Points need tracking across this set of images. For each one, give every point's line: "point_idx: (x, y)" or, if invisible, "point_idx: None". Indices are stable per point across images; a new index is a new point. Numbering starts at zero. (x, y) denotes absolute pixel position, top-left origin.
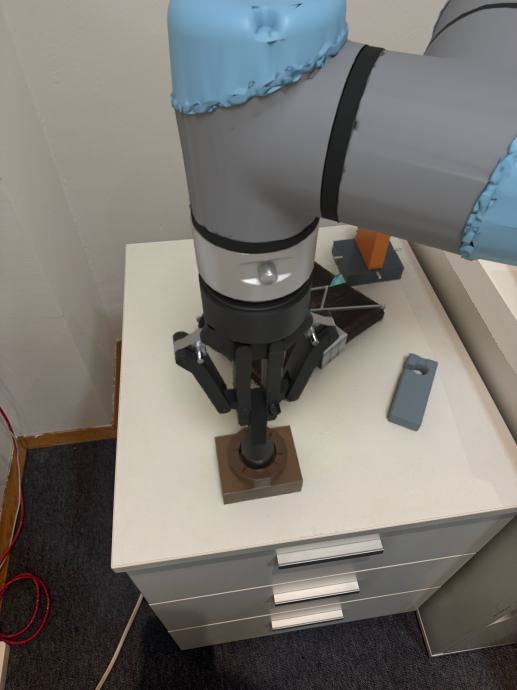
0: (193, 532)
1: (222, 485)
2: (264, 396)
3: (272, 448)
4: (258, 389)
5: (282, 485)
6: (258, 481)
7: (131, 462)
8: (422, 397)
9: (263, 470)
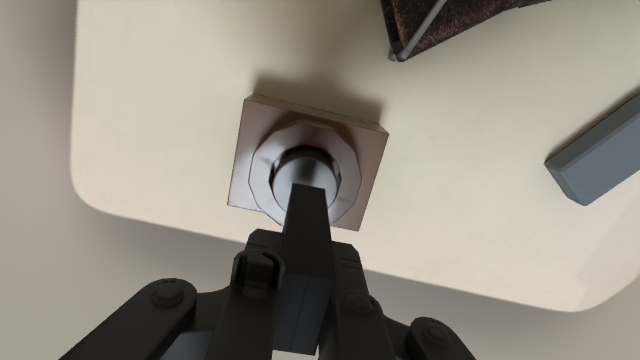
0: (183, 206)
1: (231, 191)
2: (324, 345)
3: (330, 203)
4: (322, 285)
5: None
6: None
7: (94, 54)
8: (632, 166)
9: None
